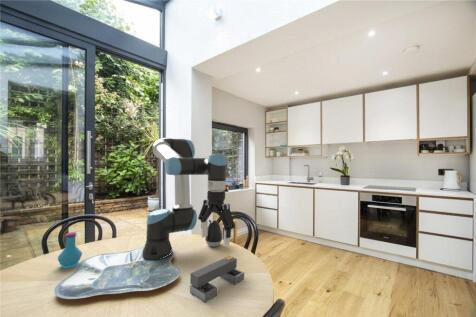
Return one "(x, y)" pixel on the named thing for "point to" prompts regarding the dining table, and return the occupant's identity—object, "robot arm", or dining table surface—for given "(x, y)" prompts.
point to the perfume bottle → (70, 252)
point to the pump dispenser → (214, 234)
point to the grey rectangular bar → (212, 271)
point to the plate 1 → (201, 294)
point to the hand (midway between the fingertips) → (214, 240)
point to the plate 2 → (233, 276)
